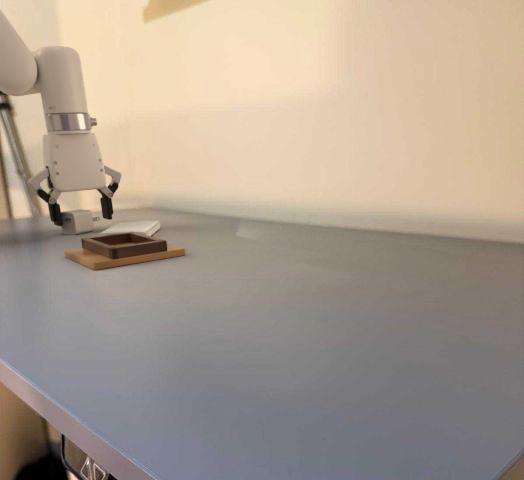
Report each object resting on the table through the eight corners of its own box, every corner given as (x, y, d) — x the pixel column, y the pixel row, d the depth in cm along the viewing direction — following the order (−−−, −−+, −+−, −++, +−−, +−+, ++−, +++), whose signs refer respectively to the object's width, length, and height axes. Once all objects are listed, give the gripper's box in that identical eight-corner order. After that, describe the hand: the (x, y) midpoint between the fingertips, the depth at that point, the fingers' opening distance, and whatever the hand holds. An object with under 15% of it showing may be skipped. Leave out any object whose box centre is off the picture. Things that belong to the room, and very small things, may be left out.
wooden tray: (64, 257, 81) (62, 240, 80) (149, 244, 89) (147, 229, 88) (94, 270, 72) (92, 251, 72) (185, 255, 80) (184, 238, 79)
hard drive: (117, 221, 104) (98, 232, 92) (160, 220, 104) (145, 230, 92) (118, 230, 104) (99, 241, 93) (160, 229, 104) (147, 240, 93)
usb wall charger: (62, 233, 102) (58, 212, 101) (90, 228, 108) (87, 207, 106) (76, 234, 100) (73, 212, 99) (104, 229, 106) (101, 208, 104)
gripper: (105, 125, 104) (118, 215, 111) (12, 127, 95) (31, 225, 101) (121, 123, 99) (133, 218, 105) (24, 126, 89) (43, 230, 96)
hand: (83, 221), depth 103 cm, fingers open, 9 cm apart
